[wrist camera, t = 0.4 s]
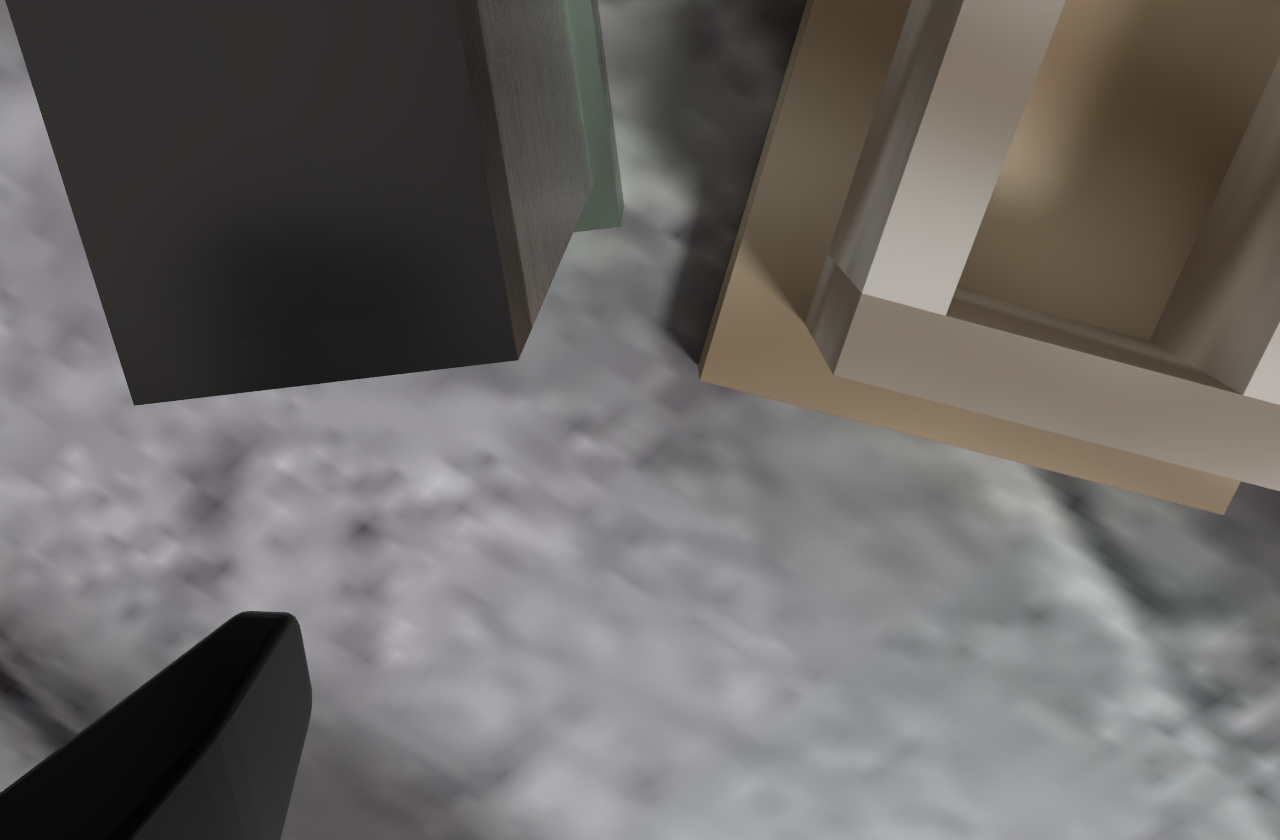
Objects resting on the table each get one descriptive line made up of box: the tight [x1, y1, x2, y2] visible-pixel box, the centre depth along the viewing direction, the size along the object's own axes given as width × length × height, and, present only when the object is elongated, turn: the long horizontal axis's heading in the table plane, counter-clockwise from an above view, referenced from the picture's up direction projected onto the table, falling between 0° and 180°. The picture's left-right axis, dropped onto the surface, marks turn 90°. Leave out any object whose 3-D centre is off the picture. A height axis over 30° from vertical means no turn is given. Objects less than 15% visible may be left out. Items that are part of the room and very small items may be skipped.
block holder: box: [698, 0, 1280, 515], centre depth 18 cm, size 14×12×4 cm
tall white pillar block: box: [5, 0, 624, 405], centre depth 14 cm, size 6×4×14 cm, turn 7°
